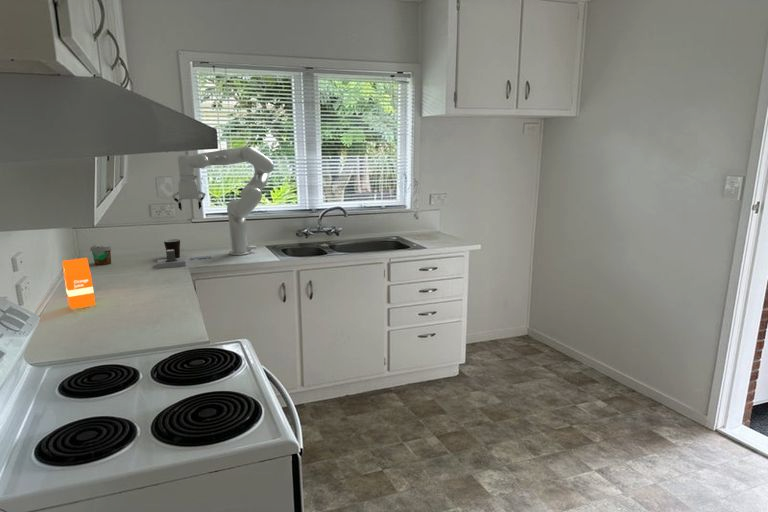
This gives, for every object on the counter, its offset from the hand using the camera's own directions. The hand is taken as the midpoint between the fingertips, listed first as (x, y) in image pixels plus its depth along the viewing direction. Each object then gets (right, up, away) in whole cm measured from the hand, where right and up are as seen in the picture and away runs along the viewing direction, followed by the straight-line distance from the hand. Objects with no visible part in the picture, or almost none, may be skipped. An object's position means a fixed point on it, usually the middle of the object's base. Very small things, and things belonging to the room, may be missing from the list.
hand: (190, 209), depth 281 cm
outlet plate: (-8, -31, -6) cm, 32 cm away
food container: (-48, -31, -2) cm, 57 cm away
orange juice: (-17, -47, -72) cm, 87 cm away
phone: (+2, -27, +10) cm, 29 cm away
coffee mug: (-14, -26, +13) cm, 32 cm away
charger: (-8, -31, -6) cm, 32 cm away
